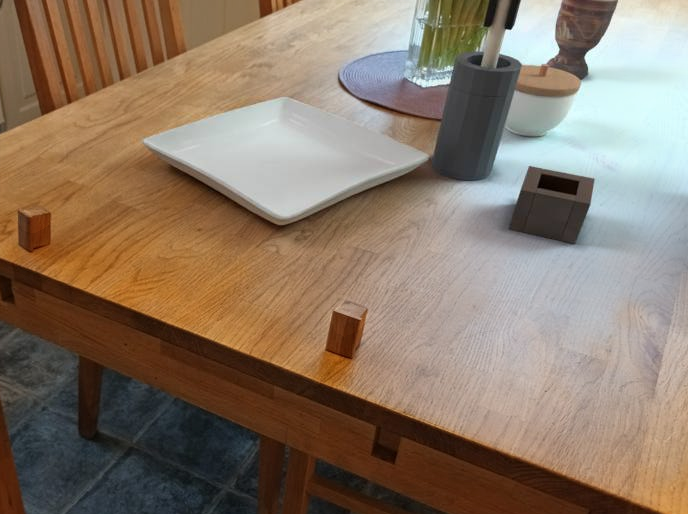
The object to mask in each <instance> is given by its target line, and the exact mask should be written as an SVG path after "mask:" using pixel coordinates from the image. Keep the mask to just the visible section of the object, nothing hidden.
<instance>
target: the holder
mask: <svg viewBox="0 0 688 514" xmlns="http://www.w3.org/2000/svg"><path fill="white" fill-rule="evenodd" d="M595 181H596V179H595V177H594V178H593V177H589V176H584V175H578V174H572V173H567V172H562V171H558V170H553V169H546V168H542V167H538V166H532V165H529V166H528V167H527V170H526V173H525V176H524V179H523V182H522V184H521V188H520V190H519V194H518V197H517V200H516V204H515V206H514V210H513V213H512V216H511V217H510V218H511V219H510V221H509V225H508V227H507V229H508V230H512V231H516V232H520V233H524V234H529V235H534V236H539V237H543V238H546V239H547V238H548V239H552V240H556V241H561V242H564V243H570V244H574V245H575V244H577V243H576V242H577V240H578V238H579V235H580V233H581V230H582V227H583V225H584V222H585V220H586V218H587V215H588V212H589V210H590V208H591V206H592V205H591V204H592V199H593V194H594V193H593V192H594V187H595Z"/></svg>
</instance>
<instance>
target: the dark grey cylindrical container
mask: <svg viewBox="0 0 688 514" xmlns="http://www.w3.org/2000/svg"><path fill="white" fill-rule="evenodd" d="M483 55H484V51H467V52H463V53H459V54H457V56H456V57H455V59H454V64H453V67H452V72H451V77H450V81H449V85H448V89H447V93H446V98H445V103H444V106H443V111H442V117H441V120H440V125H439V129H438V133H437V138H436V143H435V146H434V151H433V155H432V162H431V167H432V168H433V169H434V171H435V172H437V173H438V174H439V175H443V176H445V177H447V178H450V179H455V180H461V181H480V180H484V179H486V178H489V176H490V175H491V174H492V171H493V168H494V165H495V161H496V159H497V154H498V150H499V147H500V144H501V140H502V137H503V134H504V130H505V123H506V120H507V116H508V113H509V109H510V106H511V102H512V99H513V95H514V92H515V88H516V85H517V81H518V78H519V74H520V71H521V67H522V66H523V64H522V63H521V61H520V60H518V59H516V58H515V57H512V56H510V55H506V54H502V53H500V54H499V58H498V61H497V65H496V68H487V67H481V63H482V59H483Z"/></svg>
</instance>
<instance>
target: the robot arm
mask: <svg viewBox="0 0 688 514" xmlns="http://www.w3.org/2000/svg"><path fill="white" fill-rule="evenodd" d="M496 3H497V0H489V1H488V5H487V9H486V12H485V17H484V21H483V25H482V26H483V27H484V28H490V27H491V23H492V19H493V15H494V11H495V7H496ZM521 3H522V0H512V2H511V6H510V10H509V14H508V18H507V22H506V26H505V29H506V30H507V31H512V30H513V28H514V27H515V24H516V21H517V17H518V14H519V9H520V6H521Z"/></svg>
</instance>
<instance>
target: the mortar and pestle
mask: <svg viewBox="0 0 688 514" xmlns="http://www.w3.org/2000/svg"><path fill="white" fill-rule="evenodd" d="M618 3H619V0H561V3H560V8H559V10H558V13H557V18H556V20H555V21H556V22H555V29H554V39H555V42H556V45H557V47H558V49H559V50H558V52H557V54H556V55H555V56H554V57H551V58H550V59H549V60H547V62H546V63H545V64H548V65H549V67H550V68H555V69H559V70H563V71H566V72H568V73H571V74H573V75H575V76H576V77H578V78H579V79H580V80H581V79H584V78H586V77H587V76H588V75H589V66H588V63H587V61H586V58H585V57H586V55H587V54H588V52H590V51H591V50H593V49H594V48H596V47H597V46H598V45H599V44H600V42H601V40H602V39H603V37H604V36H605V34H606V32H607V31H608V28H609V26H610V25H611V21H612V19H613V15H614V14H615V11H616V10H617V6H618Z"/></svg>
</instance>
